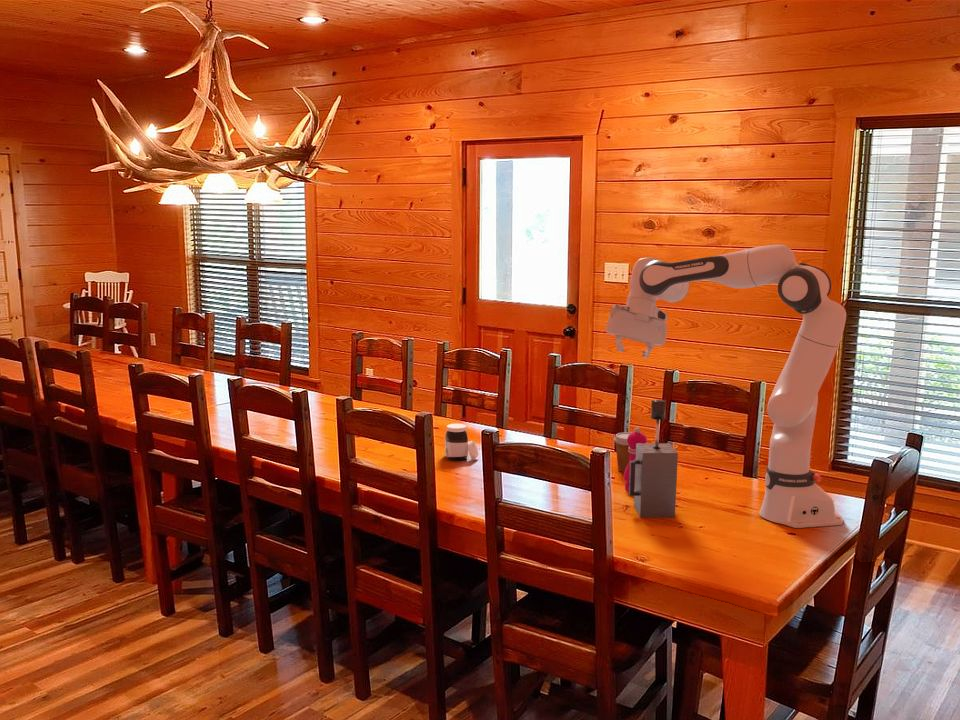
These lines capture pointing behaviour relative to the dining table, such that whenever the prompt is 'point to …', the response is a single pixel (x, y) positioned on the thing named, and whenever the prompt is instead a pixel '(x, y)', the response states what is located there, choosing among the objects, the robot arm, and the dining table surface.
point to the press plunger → (658, 416)
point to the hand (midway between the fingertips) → (632, 354)
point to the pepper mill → (633, 452)
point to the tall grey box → (654, 480)
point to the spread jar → (459, 443)
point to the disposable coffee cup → (622, 450)
